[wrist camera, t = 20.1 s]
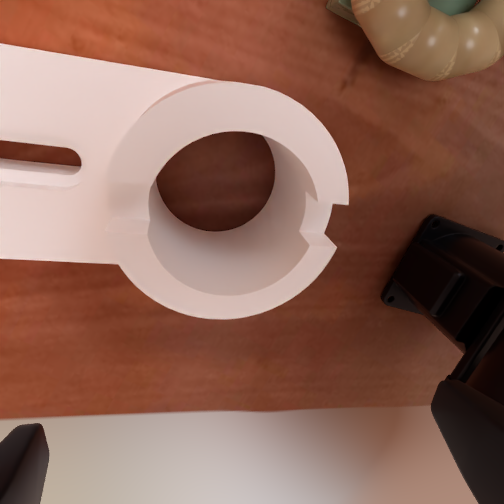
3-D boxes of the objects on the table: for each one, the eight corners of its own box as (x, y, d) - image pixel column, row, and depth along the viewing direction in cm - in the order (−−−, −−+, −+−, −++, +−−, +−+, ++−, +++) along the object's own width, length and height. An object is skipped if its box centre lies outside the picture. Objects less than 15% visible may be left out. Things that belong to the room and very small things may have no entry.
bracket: (311, 96, 18) (377, 105, 12) (280, 253, 22) (319, 320, 16) (-192, 11, 13) (-479, -40, 8) (-128, 229, 17) (-290, 310, 11)
